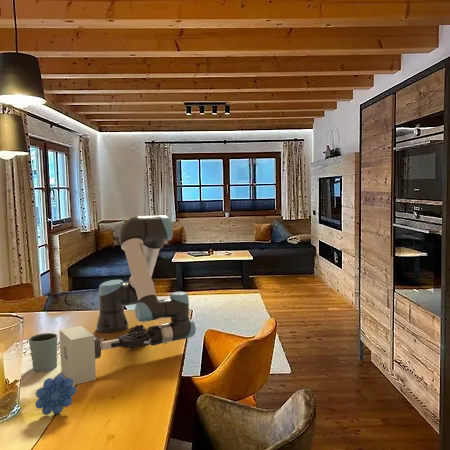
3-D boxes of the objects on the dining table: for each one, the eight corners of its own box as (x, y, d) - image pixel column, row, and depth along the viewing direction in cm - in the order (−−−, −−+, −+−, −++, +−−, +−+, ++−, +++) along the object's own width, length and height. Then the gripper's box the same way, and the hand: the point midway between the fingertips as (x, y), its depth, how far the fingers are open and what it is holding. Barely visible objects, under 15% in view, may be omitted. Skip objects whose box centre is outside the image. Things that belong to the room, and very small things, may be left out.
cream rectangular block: (61, 371, 172) (59, 329, 171) (82, 367, 177) (81, 326, 176) (73, 385, 160) (71, 339, 159) (95, 379, 164) (94, 335, 163)
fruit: (133, 331, 191) (146, 320, 206) (115, 336, 193) (130, 325, 207) (140, 350, 191) (153, 338, 206) (122, 356, 193) (136, 343, 208)
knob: (64, 361, 169) (63, 339, 169) (94, 354, 175) (93, 334, 175) (71, 367, 163) (70, 345, 162) (101, 360, 169) (100, 339, 168)
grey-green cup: (64, 364, 180) (62, 334, 179) (46, 374, 170) (44, 342, 170) (43, 361, 183) (41, 332, 182) (24, 371, 174) (22, 339, 173)
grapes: (77, 404, 145) (75, 367, 144) (77, 414, 138) (75, 375, 137) (37, 410, 141) (35, 372, 140) (35, 420, 135) (33, 380, 134)
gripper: (166, 347, 181) (108, 360, 168) (152, 339, 192) (96, 351, 178) (166, 329, 180) (107, 340, 167) (152, 321, 191) (95, 332, 178)
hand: (101, 346), depth 173 cm, fingers closed
